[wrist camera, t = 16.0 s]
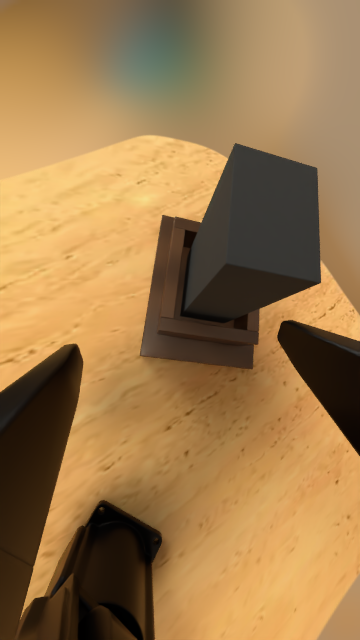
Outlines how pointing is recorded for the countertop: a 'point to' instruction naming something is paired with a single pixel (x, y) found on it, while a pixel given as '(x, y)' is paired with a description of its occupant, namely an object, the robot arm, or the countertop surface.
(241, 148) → the back pad
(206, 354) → the seat base
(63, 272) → the countertop surface
